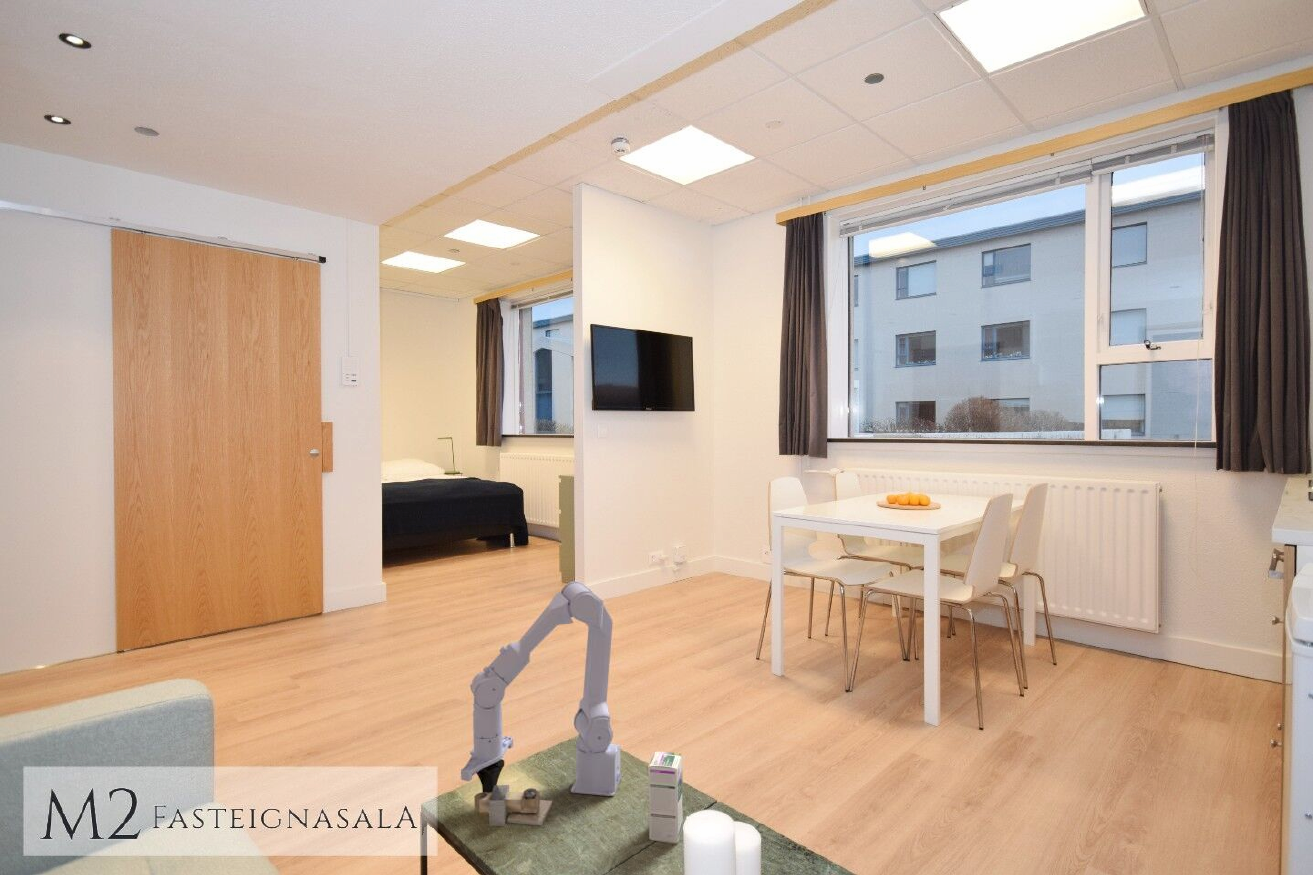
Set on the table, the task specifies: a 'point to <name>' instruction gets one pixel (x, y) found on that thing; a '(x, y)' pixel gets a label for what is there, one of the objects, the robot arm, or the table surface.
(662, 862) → the table surface
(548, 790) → the table surface
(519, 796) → the link
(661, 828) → the syrup box
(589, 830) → the table surface
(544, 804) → the pintle base
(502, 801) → the block
